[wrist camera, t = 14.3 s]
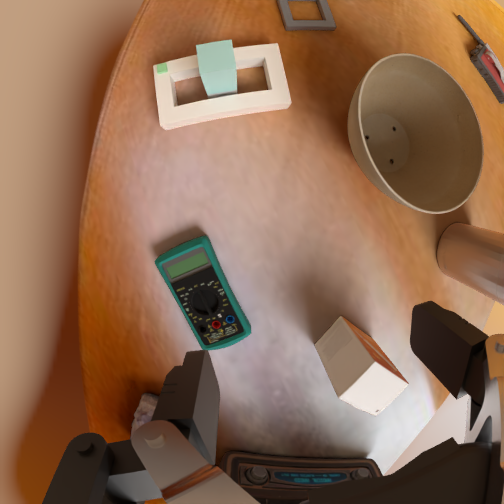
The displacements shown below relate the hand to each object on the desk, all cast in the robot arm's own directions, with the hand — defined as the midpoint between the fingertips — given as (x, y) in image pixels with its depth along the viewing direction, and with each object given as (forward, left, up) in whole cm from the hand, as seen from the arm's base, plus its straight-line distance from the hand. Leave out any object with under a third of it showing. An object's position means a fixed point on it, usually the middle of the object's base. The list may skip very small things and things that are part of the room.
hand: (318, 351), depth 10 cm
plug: (+2, -20, -28) cm, 35 cm away
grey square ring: (-12, -32, -28) cm, 44 cm away
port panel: (+2, -20, -28) cm, 35 cm away
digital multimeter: (+9, +7, -29) cm, 31 cm away
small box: (-10, +19, -28) cm, 36 cm away
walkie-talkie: (-50, -28, -29) cm, 64 cm away
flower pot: (-19, -10, -28) cm, 36 cm away
